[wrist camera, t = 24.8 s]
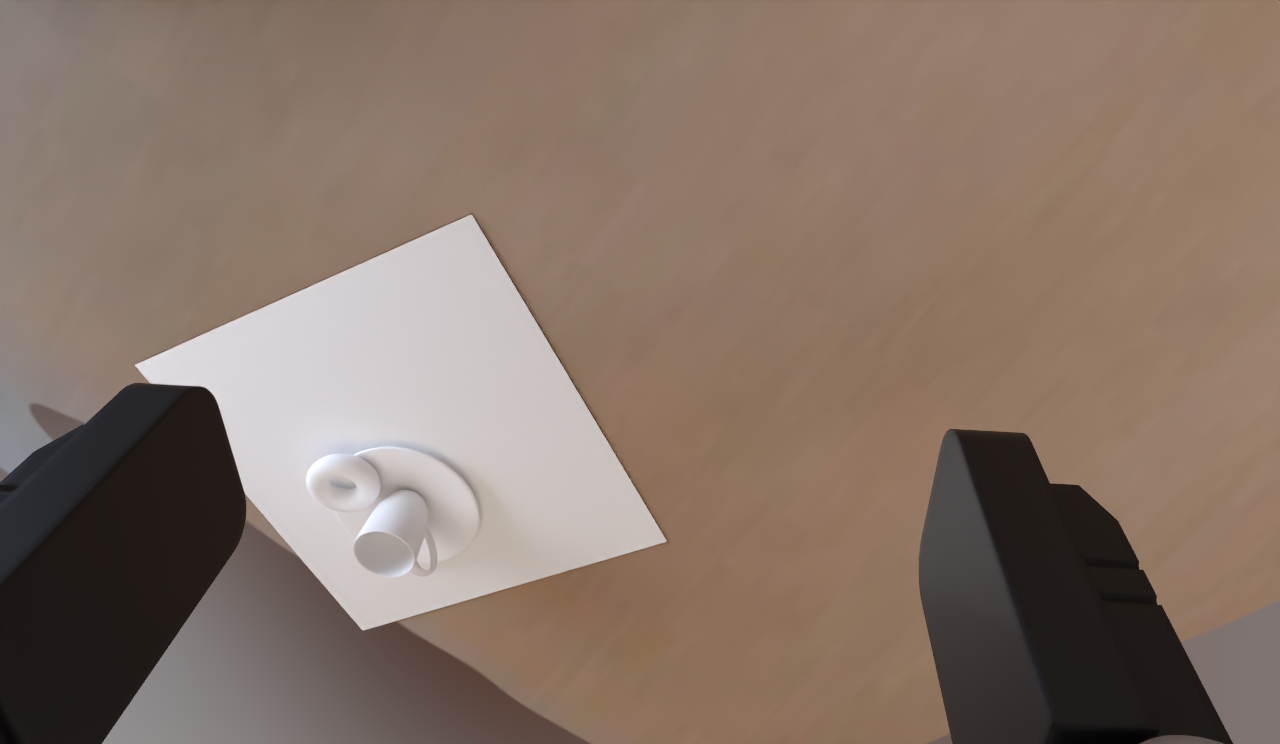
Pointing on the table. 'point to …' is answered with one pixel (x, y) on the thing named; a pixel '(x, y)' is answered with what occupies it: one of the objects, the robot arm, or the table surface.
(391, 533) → the teacup and saucer
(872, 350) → the table surface
